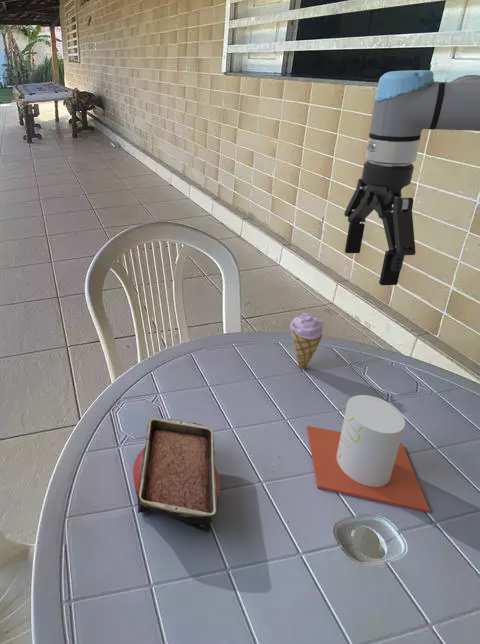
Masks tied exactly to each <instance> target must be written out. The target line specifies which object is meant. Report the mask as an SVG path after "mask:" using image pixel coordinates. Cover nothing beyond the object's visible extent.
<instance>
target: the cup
mask: <svg viewBox="0 0 480 644" xmlns="http://www.w3.org/2000/svg"><path fill="white" fill-rule="evenodd" d="M405 426H406V420H405V417H404V416H403V414H402V413H401V411H400V410H399V409H398V408H397V407H395V406H394V405H393V404H391V403H390V402H388V401H386V400H384V399H382V398H379V397H377V396H373V395H367V394H358V395H353V396H351V397H350V398H349V399H348V400H347V403H346V406H345V412H344V417H343V421H342V427H341V431H340V432H341V436H340V441H339V446H338V451H337V462H338V464H339V466H340V468H341V469H342V470H343V471H344V472H345V473H346V474H347V475H348V476H349V477H350V478H352V479H353V480H355V481H357V482H358V483H361V484H363V485H366V486H371V487H381V486H384V485H386V484H387V483H388V482H389V481H390V478H391V474H392V470H393V467H394V463H395V459H396V456H397V452H398V448H399V444H400V443H401V440H402V437H403V433H404V429H405Z"/></svg>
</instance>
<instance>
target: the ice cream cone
mask: <svg viewBox="0 0 480 644" xmlns="http://www.w3.org/2000/svg"><path fill="white" fill-rule="evenodd" d="M323 327H324V320H323V319H319V317H317V316H316V315H314V314H312V313H308V312H306V311H304V312H303V313H302V314H300V315H299V316H295V317H294V318H293V319H292V320H291V322H290V324H289V329H290V333H291V338H292V339H293V344H294V350H295V356H296V360H297V364H298V368H299V369H300V370H306V368H307V367H308V365H309V363H310V362H311V360H312V359H313V356H314V354H315V353H316V351H317V348H318V347H319V344H320V341H321V339H322V337H323Z"/></svg>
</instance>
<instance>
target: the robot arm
mask: <svg viewBox="0 0 480 644" xmlns="http://www.w3.org/2000/svg"><path fill="white" fill-rule="evenodd" d="M434 75H435V74H434V71H432V70H428V69H426V70H425V69H424V70H423V69H418V70H414V69H413V70H393V71H388V72H385V73H384V74H383V75H381V76H380V78H379V79H378V84H377V89H376V92H375V98H374V100H373V108H372V114H371V120H370V127H369V134H368V141H367V144H366V145H365V150H366V151H365V158H366V161H365V162H364V163H363V167H362V173H361V178H359V179H357V184H356V188H355V190H354V192H353V194H352V196H351V198H350V200H349V202H348V205H347V207H346V208H345V211H344V212H343V215H344V217H347V221H348V223H349V224H348V230H347V234H346V235H347V236H346V242H345V246H344V247H345V248H344V254H360V253H361V247H362V243H363V237H364V232H365V226H366V224H364V223H366V222H367V220H366V219H367V218H368V216H370V214H372V212H374V211H375V212H376V213H377V216H378V218H379V219H381V220H382V221H381V222H382V225H383V229H384V234H385V237H386V242H387V246H388V250H385V251H384V252H385V253H384V258H383V263H382V267H381V271H380V277H379V280H378V281H379V282H378V284H379V285H380V286H398V283H399V278H400V274H401V271H402V268H403V264H404V263H403V262H404V259H405V256H415V255H416V253H417V252H416V241H415V230H414V218H413V208H414V198H413V197H403V196H402V190H403V189H404V188H405V187H408V186H409V185H410V184H411V182H412V177H413V174H414V169H415V166H414V165H413V163H414V162H416V161H417V157H418V153H419V152H418V151H419V146H420V140H421V136H422V132H423V130H443V131H447V130H448V131H468V132H469V131H472V132H480V75H478V74H465V75H463V76H459V77H456V78H455V79H453V80H451V81H450V82H439V81H435V79H434Z"/></svg>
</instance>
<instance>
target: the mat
mask: <svg viewBox="0 0 480 644" xmlns="http://www.w3.org/2000/svg"><path fill="white" fill-rule="evenodd" d="M306 431H307V438H308V443H309V449H310V454H311V460H312V466H313V471H314V472H313V473H314V477H315V484H316V488H317V489H320V490H324V491H329V492H332V493H338V494H342V495H346V496H351V497H355V498H360V499H365V500H370V501H373V502H378V503H383V504H387V505H392V506H396V507H401V508H406V509H410V510H414V511H418V512H423V513H429V514H430V512H431V510H430V507H429V505H428V502H427V500H426V497H425V495H424V492H423V490H422V488H421V485H420V483H419V480H418V478H417V476H416V473H415V471H414V469H413V466H412V464H411V461H410V459H409V457H408V454H407V451H406V449H405V447H404V445H403V443H402V442H400V444H399V448H398V452H397V456H396V459H395V463H394V467H393V470H392V474H391V478H390V481H389V482H388V483H387V484H386V485H384V486H381V487H371V486H366V485H363V484H361V483H358V482H357V481H355V480H353V479H352V478H350V477H349V476H348V475H347V474H346V473H345V472H344V471H343V470H342V469H341V468H340V466H339V464H338V462H337V451H338V446H339V441H340V436H341V431H337V430H333V429H328V428H327V429H326V428H322V427H317V426H311V425H306Z"/></svg>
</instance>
